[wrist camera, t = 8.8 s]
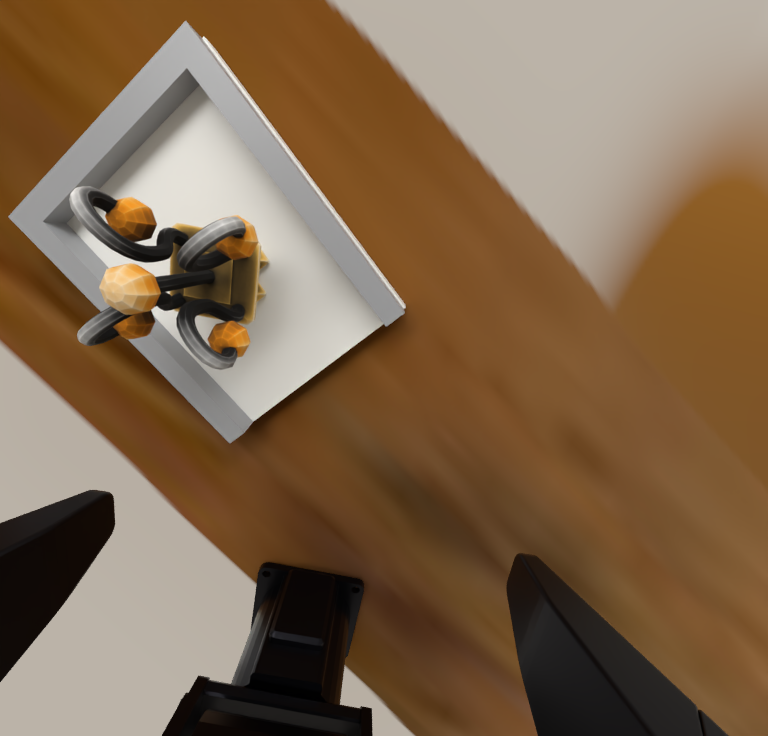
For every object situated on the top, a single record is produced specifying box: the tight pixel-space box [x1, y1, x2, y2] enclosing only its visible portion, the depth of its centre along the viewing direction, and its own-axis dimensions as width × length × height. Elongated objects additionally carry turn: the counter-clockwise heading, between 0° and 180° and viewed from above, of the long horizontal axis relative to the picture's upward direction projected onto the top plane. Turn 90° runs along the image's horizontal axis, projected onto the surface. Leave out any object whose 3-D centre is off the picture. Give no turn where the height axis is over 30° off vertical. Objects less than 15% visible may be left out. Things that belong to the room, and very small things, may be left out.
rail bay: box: [8, 21, 406, 443], centre depth 17 cm, size 13×11×2 cm
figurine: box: [69, 186, 269, 370], centre depth 13 cm, size 5×5×8 cm
